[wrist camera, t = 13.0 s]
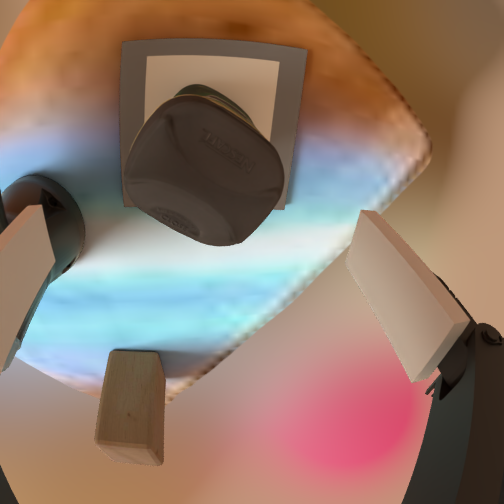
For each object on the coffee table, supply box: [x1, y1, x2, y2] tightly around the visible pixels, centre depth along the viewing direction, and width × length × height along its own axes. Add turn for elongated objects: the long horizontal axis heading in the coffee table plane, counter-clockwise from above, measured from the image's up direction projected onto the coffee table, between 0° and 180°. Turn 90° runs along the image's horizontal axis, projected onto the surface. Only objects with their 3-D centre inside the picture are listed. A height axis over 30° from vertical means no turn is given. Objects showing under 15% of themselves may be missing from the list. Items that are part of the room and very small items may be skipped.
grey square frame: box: [119, 38, 308, 210], centre depth 31 cm, size 20×20×2 cm
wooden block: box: [94, 350, 166, 466], centre depth 46 cm, size 10×10×20 cm
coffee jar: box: [123, 84, 285, 246], centre depth 23 cm, size 10×8×19 cm
